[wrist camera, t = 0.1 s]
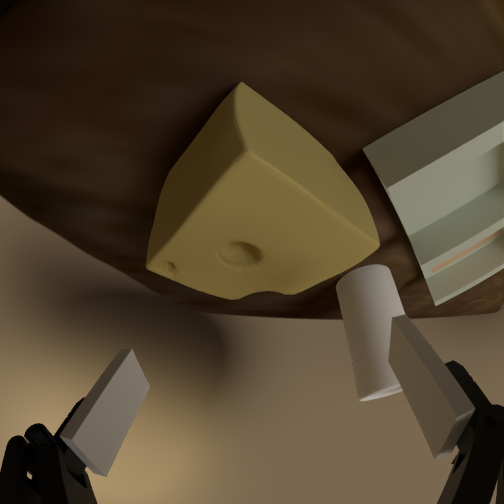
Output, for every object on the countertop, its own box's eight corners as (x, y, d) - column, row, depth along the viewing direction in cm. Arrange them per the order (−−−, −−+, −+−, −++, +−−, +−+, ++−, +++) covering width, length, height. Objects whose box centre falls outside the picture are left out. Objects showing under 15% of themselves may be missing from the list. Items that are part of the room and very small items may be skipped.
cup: (347, 264, 34) (378, 391, 24) (399, 263, 35) (435, 375, 25) (328, 297, 40) (348, 404, 30) (375, 295, 41) (400, 392, 31)
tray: (424, 277, 38) (436, 309, 35) (362, 148, 21) (390, 194, 17) (510, 227, 30) (527, 256, 26) (505, 69, 12) (549, 100, 9)
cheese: (259, 223, 27) (268, 318, 21) (159, 170, 22) (132, 271, 16) (341, 154, 21) (387, 248, 15) (238, 69, 16) (243, 136, 10)
